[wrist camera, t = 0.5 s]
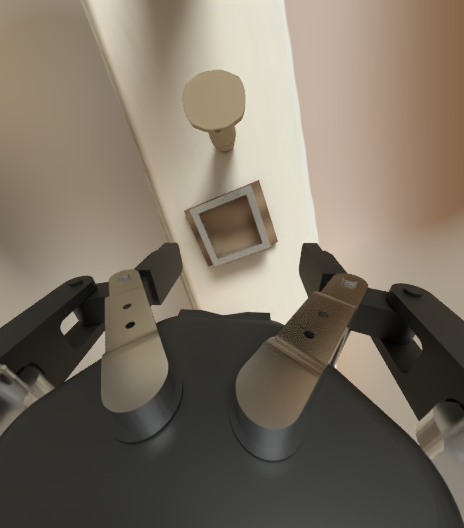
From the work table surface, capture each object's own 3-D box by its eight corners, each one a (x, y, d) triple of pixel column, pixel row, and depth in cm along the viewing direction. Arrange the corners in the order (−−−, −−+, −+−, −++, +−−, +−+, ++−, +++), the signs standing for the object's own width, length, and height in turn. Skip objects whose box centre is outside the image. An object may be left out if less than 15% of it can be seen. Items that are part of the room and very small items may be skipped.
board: (186, 210, 37) (184, 210, 36) (258, 180, 35) (258, 180, 34) (209, 263, 41) (208, 266, 39) (276, 240, 39) (277, 241, 37)
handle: (244, 155, 34) (247, 124, 20) (209, 160, 34) (187, 132, 20) (241, 124, 32) (243, 65, 18) (205, 129, 33) (178, 76, 19)
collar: (193, 208, 36) (189, 209, 33) (249, 185, 34) (250, 184, 31) (216, 262, 39) (214, 266, 36) (268, 243, 37) (270, 247, 34)
